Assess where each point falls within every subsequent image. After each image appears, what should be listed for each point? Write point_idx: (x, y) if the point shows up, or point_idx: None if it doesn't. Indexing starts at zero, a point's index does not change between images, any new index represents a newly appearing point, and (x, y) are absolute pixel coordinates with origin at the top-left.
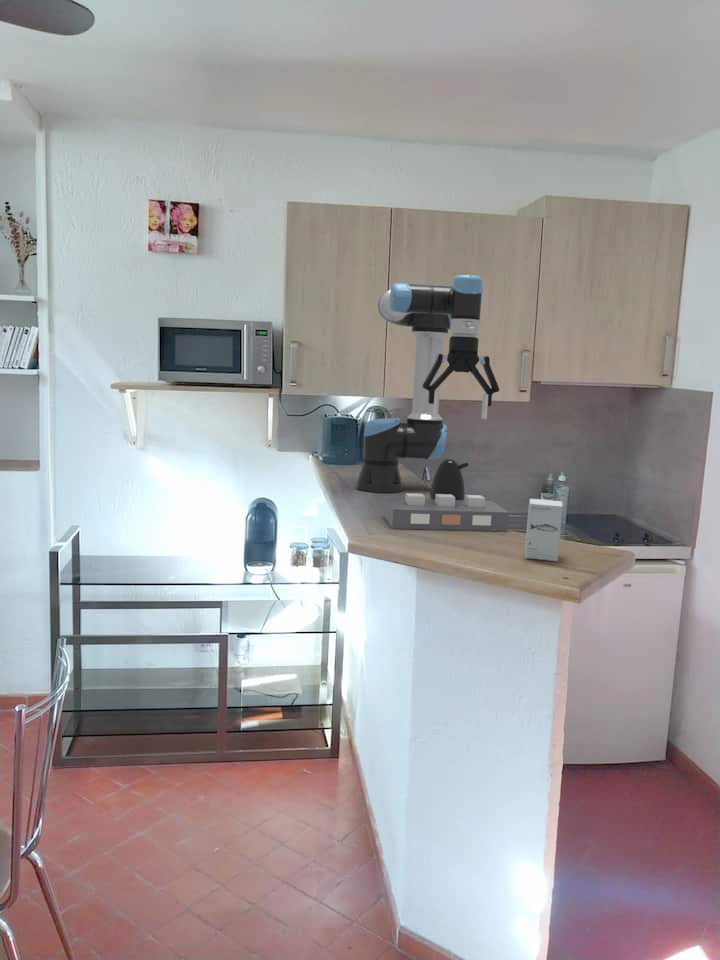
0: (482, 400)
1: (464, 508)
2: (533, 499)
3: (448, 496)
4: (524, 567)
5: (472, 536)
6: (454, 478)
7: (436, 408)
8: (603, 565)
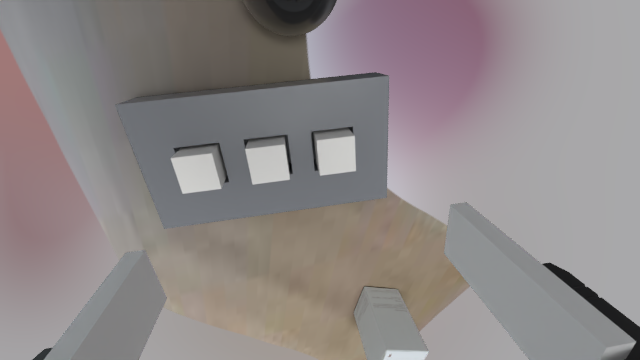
0: (541, 288)
1: (307, 183)
2: (388, 358)
3: (275, 173)
4: (343, 338)
5: (310, 227)
6: (304, 16)
7: (143, 346)
8: (430, 314)
